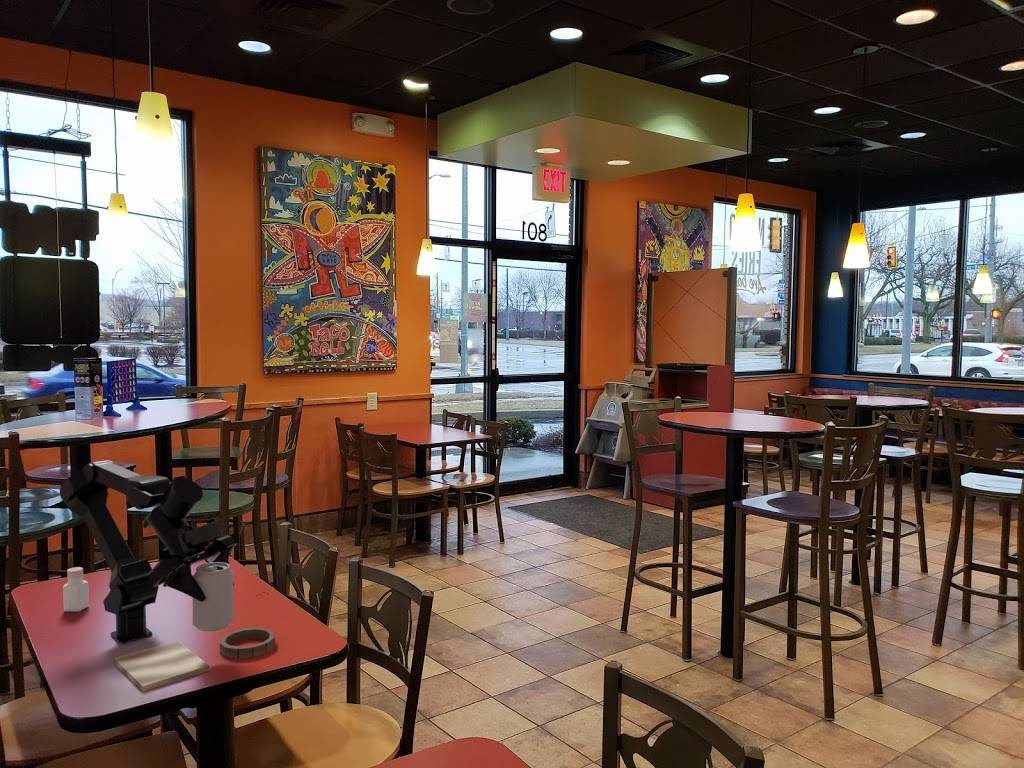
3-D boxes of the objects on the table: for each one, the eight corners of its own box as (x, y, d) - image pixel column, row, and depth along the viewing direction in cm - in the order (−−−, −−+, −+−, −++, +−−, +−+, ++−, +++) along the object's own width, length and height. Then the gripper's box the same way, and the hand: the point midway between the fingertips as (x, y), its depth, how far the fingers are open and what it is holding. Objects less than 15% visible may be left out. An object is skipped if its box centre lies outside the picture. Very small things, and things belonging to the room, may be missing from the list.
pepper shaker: (90, 606, 176) (88, 566, 175) (79, 612, 172) (77, 572, 171) (74, 605, 176) (72, 566, 176) (62, 612, 173) (61, 571, 172)
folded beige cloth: (114, 663, 146) (113, 658, 146) (177, 645, 154) (177, 640, 154) (142, 691, 134) (142, 686, 134) (209, 670, 143) (209, 665, 143)
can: (241, 624, 149) (241, 565, 148) (205, 636, 143) (205, 575, 142) (220, 614, 154) (220, 557, 152) (185, 625, 148) (184, 566, 147)
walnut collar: (211, 647, 153) (211, 637, 153) (260, 632, 161) (260, 623, 161) (234, 663, 146) (234, 653, 146) (284, 647, 153) (284, 638, 153)
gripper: (160, 517, 139) (207, 584, 136) (229, 496, 156) (273, 555, 154) (127, 553, 142) (173, 619, 139) (199, 529, 160) (241, 587, 157)
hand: (218, 593), depth 147 cm, fingers closed on can, 7 cm apart
